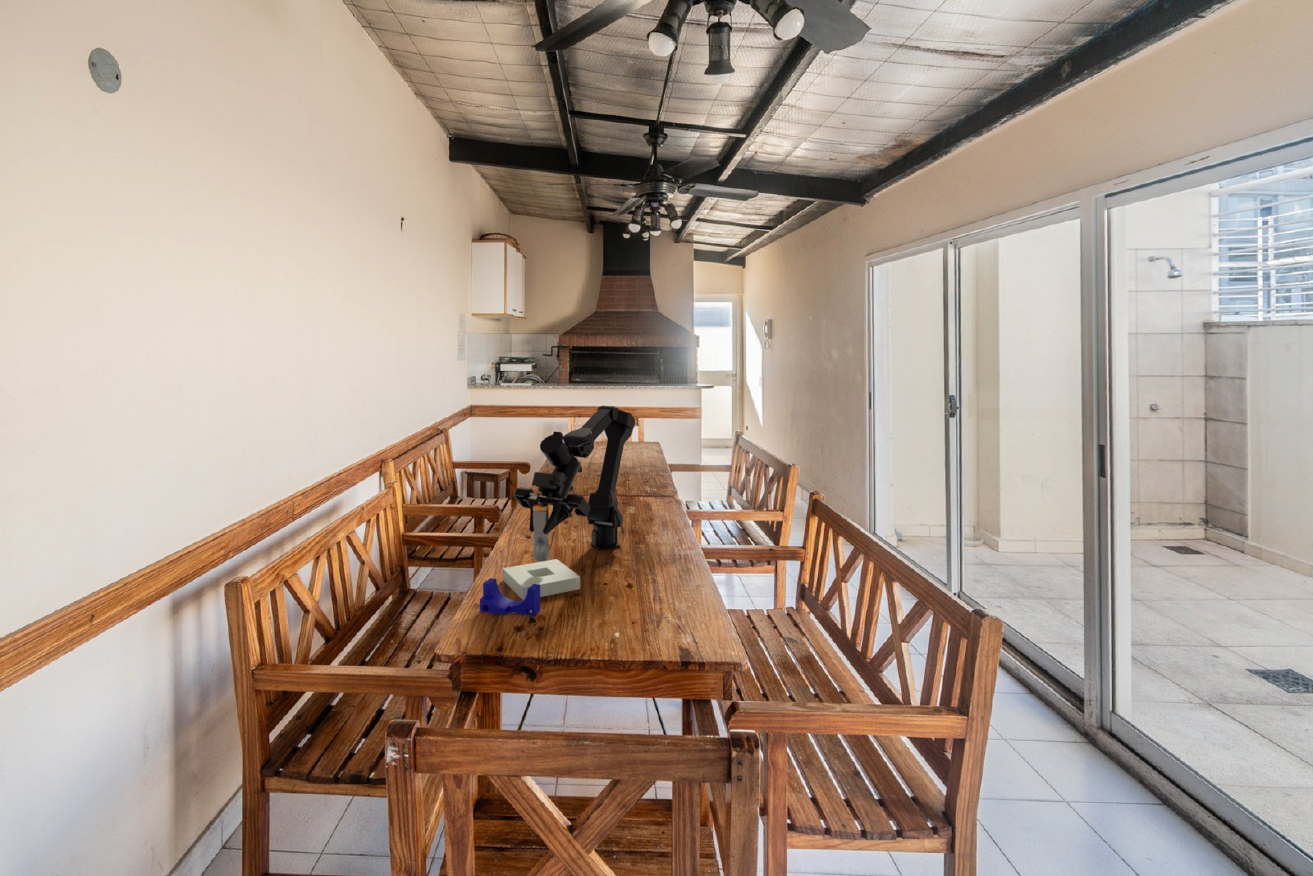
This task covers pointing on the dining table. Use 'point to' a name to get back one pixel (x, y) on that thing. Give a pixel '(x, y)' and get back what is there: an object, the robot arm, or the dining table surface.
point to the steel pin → (540, 532)
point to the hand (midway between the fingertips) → (537, 532)
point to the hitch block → (541, 578)
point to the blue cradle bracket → (501, 605)
